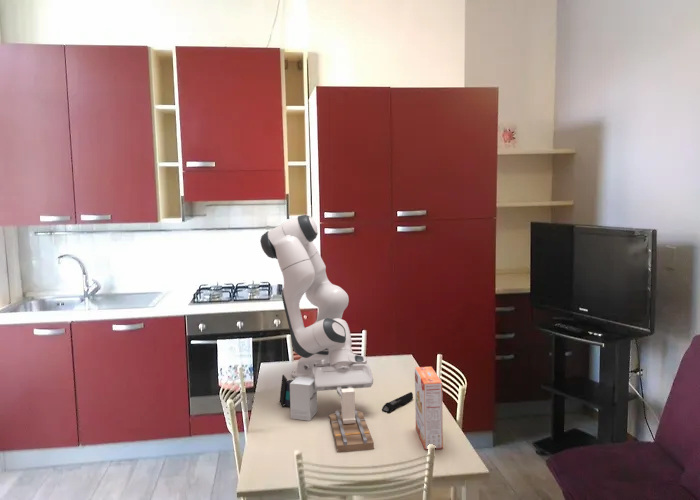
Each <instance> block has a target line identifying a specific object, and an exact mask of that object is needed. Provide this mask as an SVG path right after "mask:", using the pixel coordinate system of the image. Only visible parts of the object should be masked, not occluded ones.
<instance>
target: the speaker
mask: <svg viewBox="0 0 700 500" xmlns="http://www.w3.org/2000/svg"><path fill="white" fill-rule="evenodd" d="M293 380H294V379H287V378H286V376H285V374H282V377H281V386H280V395H279V401H278V402H279V404H280V405H281V407H282V408H285V406H287V407H290V383H291V382H292V381H293Z"/></svg>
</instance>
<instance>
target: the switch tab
mask: <svg viewBox="0 0 700 500" xmlns="http://www.w3.org/2000/svg"><path fill="white" fill-rule="evenodd" d="M355 395H356V393H355V388H347V389H341V397H340V401H341V403H340V404H341V413H342V414H341V418H342V421H343V424H351V423H356V419H355V409H356V399H355V397H356V396H355Z"/></svg>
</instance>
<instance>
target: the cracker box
mask: <svg viewBox="0 0 700 500" xmlns="http://www.w3.org/2000/svg"><path fill="white" fill-rule="evenodd" d="M414 387H415V388H414V391H415V392H414V396H415V397H414V399H415V402H414V403H415V404H414V405H415V406H414V407H415V429H416V431H417V435H418V437H419V439H420V441H421V444H422V447H423V449H424V450H425V451H426V450H428V449H427V446H428V445H429V444H433V445H435V446H436V449H435V450H437V449H439V450H440V449H441V450H442V449H443V447H444V441H443V440H444V439H443V437H444V436H443V435H444V434H443V433H444V431H443V430H444V428H443V423H444V422H443V417H444V416H443V412H444V411H443V382H442V380H441V379H440V378H439V375H438V374H437V373H436V371H435V370H434V368H433V366H416V367H414Z"/></svg>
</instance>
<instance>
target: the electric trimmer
mask: <svg viewBox="0 0 700 500" xmlns="http://www.w3.org/2000/svg"><path fill="white" fill-rule="evenodd" d="M413 398H414V394H413V392H412V391H410V392H407V393H406V394H403V395H401V396H399V397H397V398H395V399H393V400H391V401H389V402H386V403H384V405H383V406H382V408H381V411H382V412H383V413H385V414H391V413H392V411H394V410H395V409H397V408H399V407H401V406H405V405H407V404H408V403H409V402H411V400H413Z"/></svg>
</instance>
